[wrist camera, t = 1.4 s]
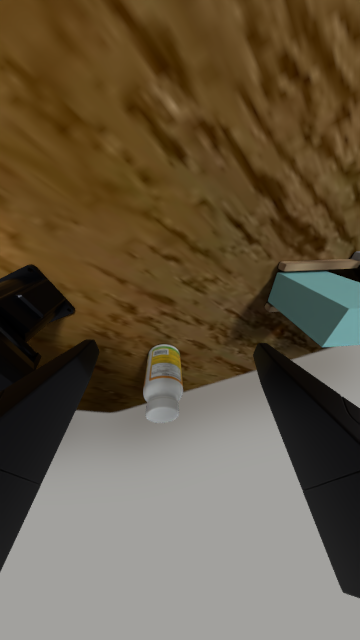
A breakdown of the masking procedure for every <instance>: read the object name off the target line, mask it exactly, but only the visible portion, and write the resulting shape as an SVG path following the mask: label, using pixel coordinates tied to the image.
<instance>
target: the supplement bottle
mask: <svg viewBox="0 0 360 640" xmlns="http://www.w3.org/2000/svg"><path fill="white" fill-rule="evenodd" d="M182 394H183V384H182V373H181V362H180V354H179V351H178V350H177V349H176V348H175V347H173V346H171V345H166V344H162V345H157V346H155V347H153V348H152V349H151V350H150V352H149V354H148V360H147V367H146V374H145V381H144V388H143V396H144V398H145V400H146V401H147V402H148V403H147V406H146V418H147V419H148V420H150V421H152V422H155V423H166V422H171V421H173V420H175V419H176V418H177V417H178V415H179V405H178V401H179V400H180V399H181V397H182Z"/></svg>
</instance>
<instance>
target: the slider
mask: <svg viewBox="0 0 360 640" xmlns="http://www.w3.org/2000/svg"><path fill="white" fill-rule="evenodd" d="M268 302H269V303H271V304H272V305H273V306H274V307H275V308H276V309H278V310H279V311H280V312H281V313H282V314H283V315H285V316H286V317H287V318H288V319H289V320H290V321H292V322H293V323H294V324H295V325H296V326H298V327H299V328H300V329H301V330H302V331H303V332H305V333H306V334H307V335H308V336H309V337H310V338H312V339H313V340H314V341H315V342H316V343H317V344H319V345H320V346H321V347H334V346H349V345H360V283H359V282H356V281H353V280H351V279H348V278H345V277H342V276H339V275H336V274H333V273H330V272H328V271H325V270H319V271H295V272H278V273H277V275H276V278H275V281H274V284H273V287H272V290H271V293H270V296H269V299H268Z"/></svg>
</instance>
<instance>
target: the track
mask: <svg viewBox="0 0 360 640" xmlns="http://www.w3.org/2000/svg"><path fill="white" fill-rule="evenodd" d="M359 264H360V261H358V260H353V259H336V260H311V261H286V262H280V263H279V266H278V269H280V270H282V271H305V270H329V269H352V268H357V267H358V266H359ZM265 309H266V310H267V311H268V312H280V311H279V310H278V309H276V308H275V307H274V306H273V305H272V304H271V303H266V305H265Z"/></svg>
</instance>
